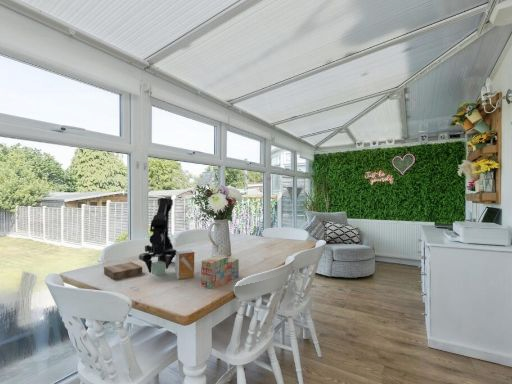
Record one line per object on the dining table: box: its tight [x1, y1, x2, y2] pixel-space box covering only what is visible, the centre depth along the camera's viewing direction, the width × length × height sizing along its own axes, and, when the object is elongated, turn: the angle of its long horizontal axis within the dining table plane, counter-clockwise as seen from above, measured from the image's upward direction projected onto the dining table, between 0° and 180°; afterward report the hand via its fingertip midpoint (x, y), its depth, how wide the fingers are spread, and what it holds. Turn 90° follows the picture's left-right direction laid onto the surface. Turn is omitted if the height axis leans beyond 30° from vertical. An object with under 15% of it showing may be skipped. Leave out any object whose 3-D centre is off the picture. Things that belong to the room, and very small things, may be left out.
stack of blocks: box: [200, 254, 240, 290], centre depth 127 cm, size 21×6×12 cm, turn 148°
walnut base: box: [103, 261, 143, 281], centre depth 136 cm, size 14×14×4 cm
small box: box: [174, 249, 196, 280], centre depth 133 cm, size 8×6×13 cm
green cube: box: [151, 260, 166, 277], centre depth 137 cm, size 5×5×6 cm
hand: (158, 270), depth 137 cm, fingers open, 9 cm apart
